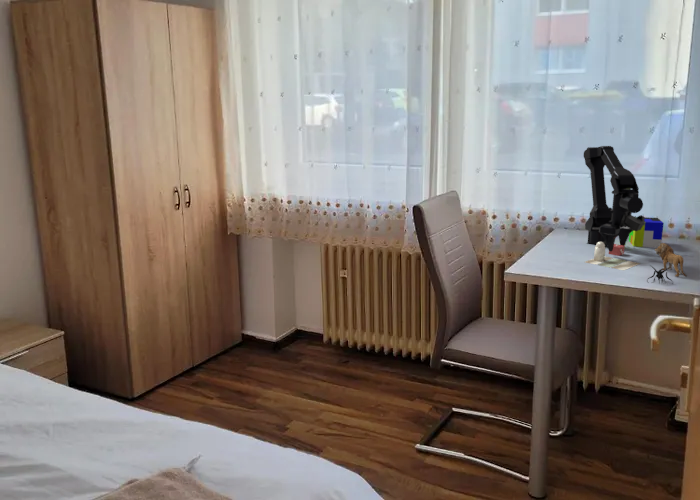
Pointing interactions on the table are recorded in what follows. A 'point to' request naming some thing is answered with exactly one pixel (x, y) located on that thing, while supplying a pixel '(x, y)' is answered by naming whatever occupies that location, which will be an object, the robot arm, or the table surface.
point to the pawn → (599, 252)
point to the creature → (659, 275)
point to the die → (617, 250)
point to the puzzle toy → (648, 234)
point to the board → (614, 263)
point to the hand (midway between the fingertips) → (616, 249)
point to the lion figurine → (670, 258)
